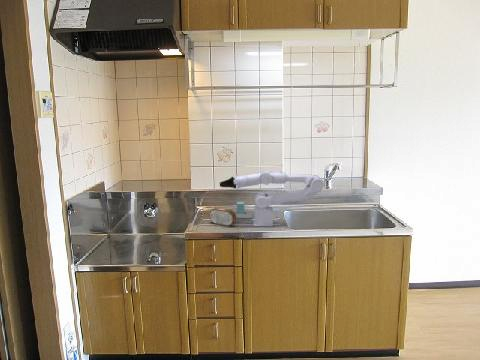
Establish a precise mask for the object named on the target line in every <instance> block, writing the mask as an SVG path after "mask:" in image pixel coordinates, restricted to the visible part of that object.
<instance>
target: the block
mask: <svg viewBox="0 0 480 360" xmlns="http://www.w3.org/2000/svg"><path fill="white" fill-rule="evenodd" d="M236 214H245V201H237V202H236Z"/></svg>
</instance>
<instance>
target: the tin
mask: <svg viewBox="0 0 480 360" xmlns="http://www.w3.org/2000/svg"><path fill="white" fill-rule="evenodd" d="M208 215H209V219H210V221H211V222H212V223H213V224H215V225H220V226H226V227H230V226H232V225H235V223H236V221H237V220H236V213H235V211H233V209H230V208H229V209H228V208H223V207H216V206H215V207H214V208H213V209H211V210H210V211H209V213H208Z"/></svg>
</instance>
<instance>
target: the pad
mask: <svg viewBox="0 0 480 360" xmlns="http://www.w3.org/2000/svg"><path fill="white" fill-rule="evenodd" d="M235 215H236V221H237V220H240V221H241V220H243V221H244V220H253V213H244V214H237V213H235Z"/></svg>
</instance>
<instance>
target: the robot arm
mask: <svg viewBox="0 0 480 360" xmlns="http://www.w3.org/2000/svg"><path fill="white" fill-rule="evenodd" d="M235 176H236V177H234V176H230V178H228V179H226V180H222V181H220V182H219V187H220V188H231V189H237V188H238V189H241V188H247V187H253V186H258V185H270V184H275V185H276V184H277V185H278V184H279V185H282V184H283V185H284V184H286V183H287V182H293V183H294V182H295V183H304V184H305V185H306V186H305V187H304V189H300V190H292V191H284V192H278V193H270V192H269V193H268V192H267V193H266V192H262V191H261V192H258V193H257V194H256V195H255V197H254V199H255V200H254V203H255V205H254V206H253V208H254V210H253V211H254V212H253V213H254V214H253V215H254V216H253V217H254V218H253V219H254V221H253V227H273V226H274V225H273V222H274V217H273V214H274V213H273V212H274V211H273V210H274V209H273V207H270V206H273V205H274V204H282V203H283V204H284V203H289V202H297V201H298V202H299V201H304V200H305V201H306V200H307V201H308V200H310V199H312V198H313V197H314V196H316V195H317V194H319V193H321V191H322V190H323V189H324V186H325V183H324V182H325V181H324V180H323V179H322V178H321V177H320V176H319V175H316V174H314V175H313V174H287V173H286V172H285V171H284V172H283V171H282V170H279V171H277V172H276V171H272V170H269V171H266V170H262V171H261V172H258V173H252V174H245V175H239V174H236V175H235Z"/></svg>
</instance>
